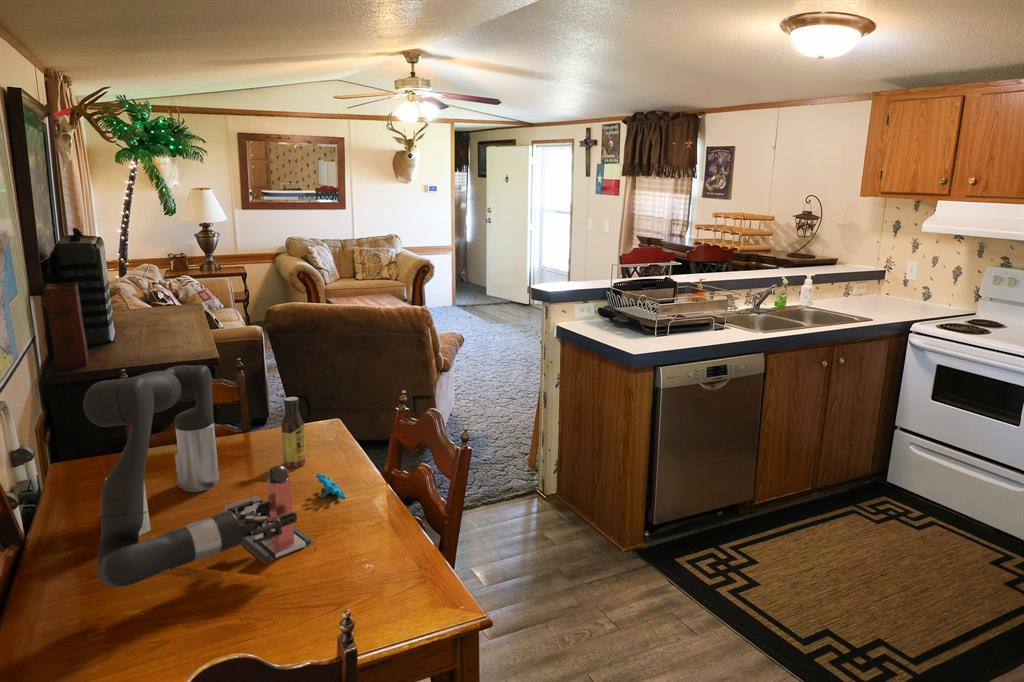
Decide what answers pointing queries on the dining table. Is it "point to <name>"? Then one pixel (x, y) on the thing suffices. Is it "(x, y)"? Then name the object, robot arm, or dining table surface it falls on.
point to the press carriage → (280, 513)
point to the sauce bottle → (293, 434)
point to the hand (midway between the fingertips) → (286, 509)
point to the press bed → (256, 547)
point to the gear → (330, 486)
